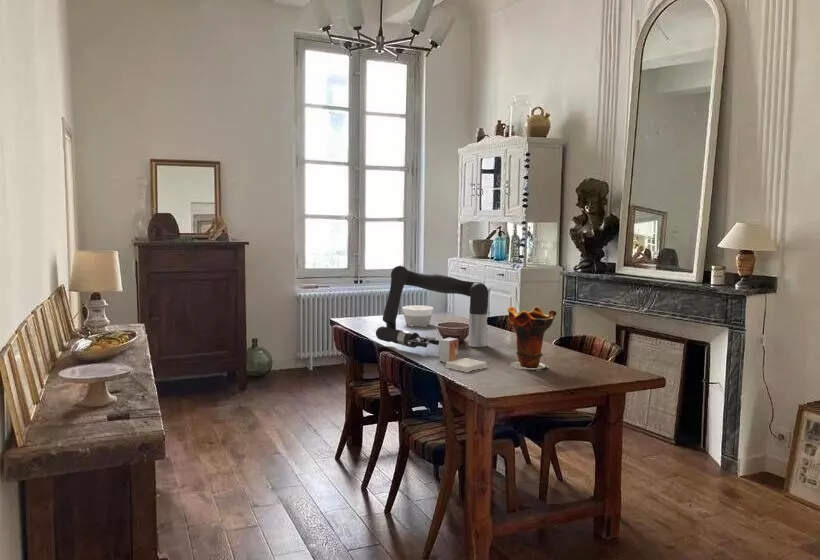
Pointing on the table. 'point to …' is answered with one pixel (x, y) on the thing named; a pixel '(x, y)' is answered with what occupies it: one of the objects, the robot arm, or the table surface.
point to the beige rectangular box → (466, 364)
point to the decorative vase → (530, 335)
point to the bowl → (417, 315)
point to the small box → (448, 349)
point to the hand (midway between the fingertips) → (432, 344)
